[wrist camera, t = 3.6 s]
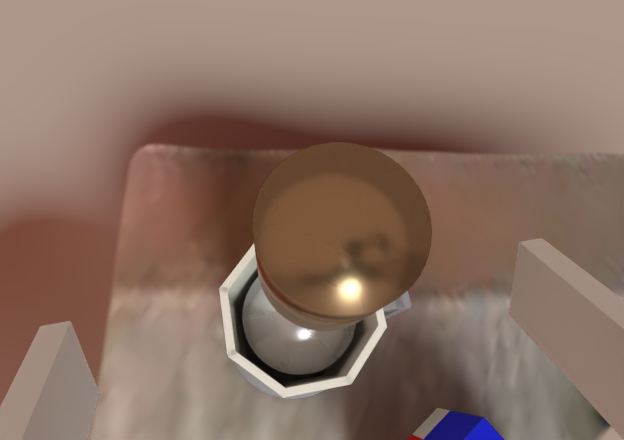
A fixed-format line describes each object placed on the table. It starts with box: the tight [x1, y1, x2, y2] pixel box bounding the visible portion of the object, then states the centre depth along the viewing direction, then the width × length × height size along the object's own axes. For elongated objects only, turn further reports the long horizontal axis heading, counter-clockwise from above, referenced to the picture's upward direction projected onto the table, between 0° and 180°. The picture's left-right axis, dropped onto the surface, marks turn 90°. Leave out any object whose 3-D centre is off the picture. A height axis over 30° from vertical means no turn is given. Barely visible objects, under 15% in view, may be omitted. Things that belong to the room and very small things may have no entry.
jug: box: [219, 244, 412, 399], centre depth 37 cm, size 14×12×15 cm
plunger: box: [242, 142, 432, 375], centre depth 23 cm, size 8×8×22 cm
